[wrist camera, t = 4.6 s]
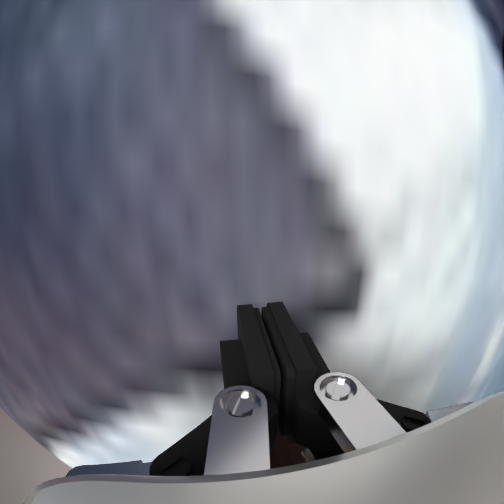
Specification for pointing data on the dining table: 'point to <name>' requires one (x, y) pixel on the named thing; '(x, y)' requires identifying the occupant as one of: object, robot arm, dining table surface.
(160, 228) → the dining table surface
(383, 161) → the dining table surface
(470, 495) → the robot arm
